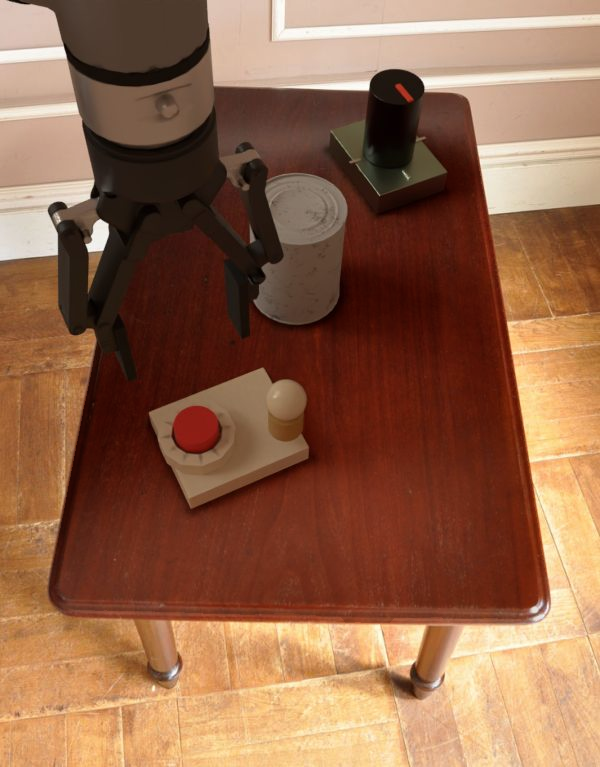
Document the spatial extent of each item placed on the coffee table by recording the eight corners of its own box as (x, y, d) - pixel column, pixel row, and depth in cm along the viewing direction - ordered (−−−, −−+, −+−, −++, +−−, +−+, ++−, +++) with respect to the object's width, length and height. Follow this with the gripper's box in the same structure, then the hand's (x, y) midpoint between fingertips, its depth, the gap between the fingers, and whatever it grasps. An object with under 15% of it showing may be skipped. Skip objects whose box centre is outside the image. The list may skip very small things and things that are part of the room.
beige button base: (146, 425, 83) (141, 403, 79) (263, 379, 86) (263, 356, 83) (186, 511, 78) (182, 491, 75) (308, 458, 81) (310, 437, 78)
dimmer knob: (353, 141, 101) (359, 74, 93) (397, 127, 103) (407, 60, 95) (378, 174, 98) (387, 108, 90) (423, 159, 100) (435, 92, 92)
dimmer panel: (324, 151, 105) (325, 130, 102) (396, 127, 107) (400, 106, 105) (372, 216, 99) (375, 196, 96) (447, 189, 101) (452, 169, 99)
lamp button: (168, 425, 79) (166, 415, 77) (208, 409, 80) (207, 399, 78) (185, 459, 77) (183, 450, 75) (226, 442, 78) (225, 433, 76)
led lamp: (259, 418, 79) (258, 380, 74) (294, 404, 80) (295, 365, 74) (276, 449, 77) (276, 412, 72) (311, 434, 78) (314, 397, 73)
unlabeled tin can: (278, 338, 89) (278, 258, 79) (235, 276, 93) (230, 193, 83) (356, 303, 92) (366, 222, 81) (310, 244, 96) (315, 160, 86)
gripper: (-26, 212, 43) (65, 435, 62) (348, 96, 49) (328, 333, 68) (-62, 121, 47) (35, 358, 66) (290, 23, 52) (286, 267, 71)
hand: (183, 345), depth 67 cm, fingers open, 9 cm apart
